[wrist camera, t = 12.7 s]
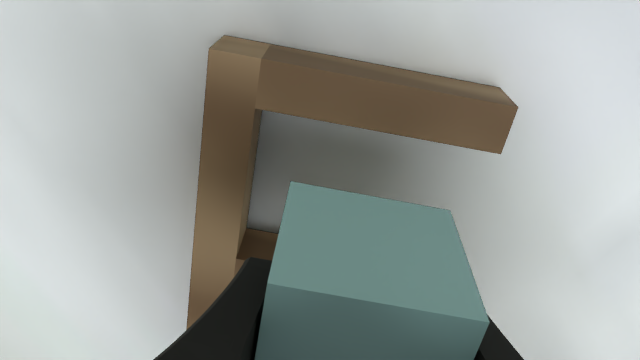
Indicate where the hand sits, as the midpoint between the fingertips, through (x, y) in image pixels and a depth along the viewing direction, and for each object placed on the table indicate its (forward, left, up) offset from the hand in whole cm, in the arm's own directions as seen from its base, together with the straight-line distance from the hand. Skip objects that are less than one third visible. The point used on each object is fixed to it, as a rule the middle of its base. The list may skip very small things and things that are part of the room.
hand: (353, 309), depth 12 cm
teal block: (0, 0, -2) cm, 2 cm away
